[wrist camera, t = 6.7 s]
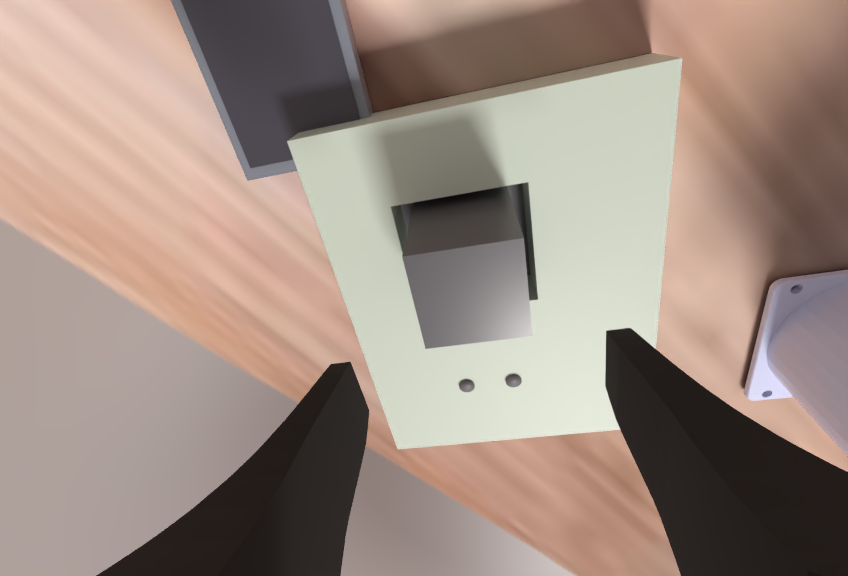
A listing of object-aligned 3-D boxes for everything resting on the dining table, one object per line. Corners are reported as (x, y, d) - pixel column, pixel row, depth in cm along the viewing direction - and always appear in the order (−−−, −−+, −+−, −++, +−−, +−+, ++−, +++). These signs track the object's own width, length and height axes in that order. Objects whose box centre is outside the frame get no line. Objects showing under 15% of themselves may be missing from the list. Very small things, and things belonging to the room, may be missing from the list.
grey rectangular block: (504, 179, 19) (523, 238, 14) (512, 259, 21) (532, 337, 16) (415, 194, 19) (402, 256, 14) (432, 271, 21) (425, 350, 16)
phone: (291, -212, 13) (280, -228, 12) (382, 148, 19) (378, 155, 18) (120, -153, 14) (99, -165, 13) (255, 174, 20) (246, 181, 19)
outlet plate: (652, 52, 16) (683, 58, 14) (631, 393, 25) (649, 428, 23) (305, 127, 18) (286, 141, 16) (401, 416, 28) (397, 450, 25)
